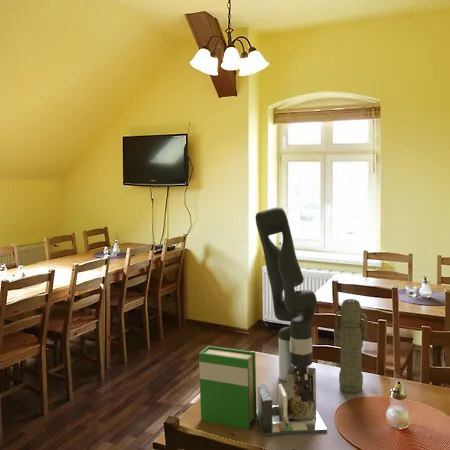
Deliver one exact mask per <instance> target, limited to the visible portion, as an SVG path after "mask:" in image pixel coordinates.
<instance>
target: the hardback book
mask: <svg viewBox="0 0 450 450" xmlns="http://www.w3.org/2000/svg"><path fill="white" fill-rule="evenodd" d="M198 363H199V364H198V365H199V367H198V369H199V370H198V371H199V396H200V421H203V422H204V421H205V422H209V423H213V424H218V425H224V426H227V427H234V428H239V429H243V430H250V429H251V423H252V422H253V421H257V420H258V417H257V413H256V409H257V377H256V375H257V373H256V367H257V366H256V351H253V350H251V351H250V350H245V349H244V350H243V349H238V348H237V349H235V348H228V347H221V346H213V345H207V346H206V347H205V348H204V349H202V350H201V351H199V353H198Z"/></svg>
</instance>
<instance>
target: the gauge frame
mask: <svg viewBox="0 0 450 450" xmlns="http://www.w3.org/2000/svg"><path fill="white" fill-rule="evenodd" d="M256 413H257V420H258V425H259V427H260V430H261V434H262V437H273V436H274V437H276V436H290V435H302V434H303V435H305V434H317V433H318V434H319V433H328V428H327V426H326V425H325V423H324V420H323V418H322V417H321V415H320V414H319V412H318V410H317V409H316V417H315V420H314V419H311V420H297V419H289V418H288V404H287V420H288V427H286V421H282V419H281V417H280V414H279V404H277V405H276V404H275V405H273V399H272V396H271V393H270V391H269V389H268V386H267V384H266V383H265V384H264V383H263V384H257V408H256Z"/></svg>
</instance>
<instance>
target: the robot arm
mask: <svg viewBox="0 0 450 450" xmlns="http://www.w3.org/2000/svg"><path fill="white" fill-rule="evenodd" d="M255 224H256V228H257V232H258V236H259V239H260V242H261V247H262V251H263V256H264V260H265V268H266V272H267V277H268V281H269V285H270V288H271V297H272V305H273V312H274V316H275V318H276V319H277V320H279V321H282V322H289V324H290V325H288V326H285V327H282V328H280V329H279V331H278V374H279V375H278V378H279V379H280V380H281V381H283V382H285V383H287V372H288V370H289V367H290V366H295V367H294V369H295V370H296V373H297V374H300V377H301V378H302V381H301V380H300V377H299V376H298V383H299V384H300V388H301V401H302V402H307V401H308V392H310V374H307V373H309V372H308V369H307V368H308V367H309V366H311V365H312V364H313V355H314V354H313V339H312V330H313V329H312V325H313V321H314V317H315V313H316V309H317V305H318V302H317V301H318V299H317V295H316V293H314V291H313V290H311V289H302V290H295V288H296V287H298V286H300V285H302V284H303V282H304V280H305V279H304V275H303V273H302V269H301V267H300V263H299V261H298V258H297V255H296V250H295V245H294V240H293V236H292V235H293V234H292V233H291V228H290V224H289V219H288V217H287V213H286V212H285V209H284V208H283V207H281V206H278V207H277V206H276V207H272V208H271V207H270V208H268V209H265V210H261V211H258V212H257V213H255ZM279 233H281V234H282V244H281V248H279V247H278V246H277V245H275V244H274V242H272V240H271V239H270V236H272V235H275V234H279ZM283 295H284V296H283ZM304 385H306V387H304Z"/></svg>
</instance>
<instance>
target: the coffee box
mask: <svg viewBox="0 0 450 450" xmlns="http://www.w3.org/2000/svg"><path fill="white" fill-rule="evenodd" d="M294 367H295V366H290V367H289V370H288V372H287V382H286V390H287V391H286V392H287V393H286V395H287V405H288V418H289V419H297V420H311V419H314V420H315V417H316V410H317V381H316V379H317V376H316V372H317V371H316V369H317V368H315V367H307V369H308V372H309V373H307V374H310V392H308V401H307V402H302V401H301V388H300V384H299V383H298V376H299V377H300V374H297V373H296V370H295V369H294ZM300 380H301V381H302V378H301V377H300ZM304 387H306V385H304Z"/></svg>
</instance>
